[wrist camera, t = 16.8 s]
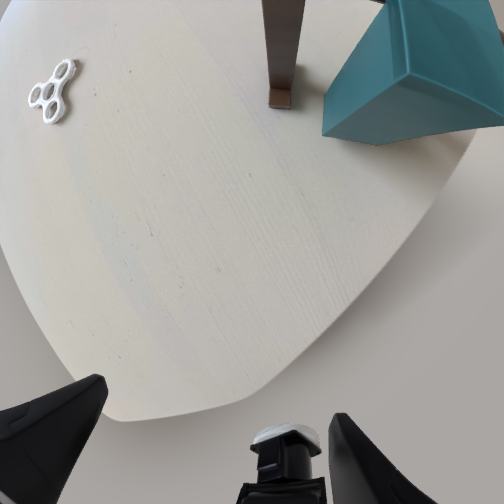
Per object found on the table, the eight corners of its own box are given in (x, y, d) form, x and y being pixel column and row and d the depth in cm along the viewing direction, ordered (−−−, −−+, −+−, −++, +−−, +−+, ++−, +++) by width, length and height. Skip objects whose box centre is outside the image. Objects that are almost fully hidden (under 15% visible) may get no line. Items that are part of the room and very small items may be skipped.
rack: (414, 133, 17) (545, 104, 4) (268, 107, 18) (253, -7, 5) (414, 88, 16) (525, 28, 3) (272, 61, 17) (263, -71, 4)
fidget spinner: (74, 54, 17) (70, 52, 16) (82, 102, 18) (77, 100, 17) (31, 93, 18) (26, 92, 17) (37, 140, 19) (31, 140, 19)
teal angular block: (377, 145, 17) (516, 125, 4) (321, 135, 17) (407, 74, 4) (378, 61, 15) (476, -29, 2) (325, 50, 15) (377, -75, 2)
